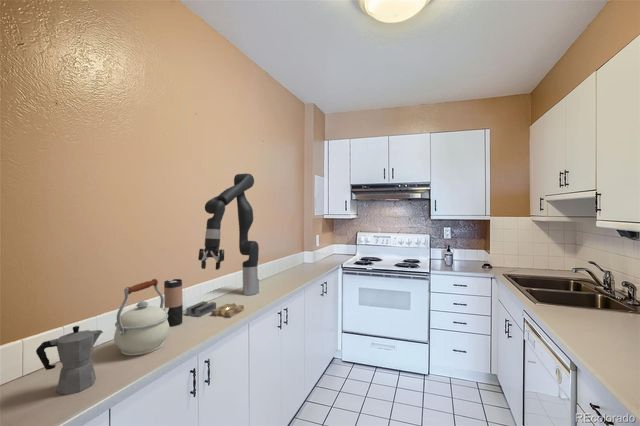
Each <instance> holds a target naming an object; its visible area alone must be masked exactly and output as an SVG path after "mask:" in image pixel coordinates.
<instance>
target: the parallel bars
mask: <svg viewBox="0 0 640 426" xmlns="http://www.w3.org/2000/svg"><path fill="white" fill-rule="evenodd" d="M231 304H232V303H225V304H222V305H221V306H219V307H216V309H215V310H213V311H211V317H212V316H213V317H218V316H220V315H219V310H221V309H223V308H225V307H227V306H229V305H231ZM244 309H245V307H244V304H243V305H241V304H240V305H237V307H235V308H233V309H231V310H229V311H227V312H225V316H224V317H225V318H227V319H228V318H229V319H230V318H233V317H234V316H235V315H238V314H239V313H241V312H243V311H244Z"/></svg>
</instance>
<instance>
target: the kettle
mask: <svg viewBox="0 0 640 426" xmlns="http://www.w3.org/2000/svg"><path fill="white" fill-rule="evenodd" d="M158 284H159V281H158V279H157V278H153V279H151V280H149V281H144V282H141V283H137V284H134V285H133V286H126V287H124V290H123V291H124V299H123V301H122V303H121V305H120V307H119V309H118V311H117V314H116V322H115V323H114V326H115V328H116V329H115V332H114V335H113V341H114V344H115V346H116V347H117V348H118V349H119V350H120V353H121V354H122V355H124V356H131V357H133V356H141V355H146V354H149V353H152V352H155V351H156V350H157V351H158V350H159V349H160V348H161V347H162V346H163V345H164V344H165V340H166V339H167V337H168V336H169V333H170V326H169V323H168V320H167V318H168V314H167V313H168V310H169V308H164V295H163V294H162V292H161V291H160V290H159V288H158ZM152 286H153V288H154V291H156V293H157V294H158V295H159V299H160V305H159V306H156V305H149V303H148V302H147V301H145V300H141V301H139V302H138V303H137V304H136V305H135V306H136V307H133V308H131V309H129V310H126V311H125V312H124V313H123V311H124V308H125V306H126V304H127V302H128V300H129V296H130V295H131V294H132V293H137V292H139V291H143V290H145V289H148V288H150V287H152Z"/></svg>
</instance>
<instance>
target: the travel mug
mask: <svg viewBox="0 0 640 426" xmlns="http://www.w3.org/2000/svg"><path fill="white" fill-rule="evenodd" d="M163 285H164V286H163V289H164V290H163V291H164V295H163V297H164V305H163V309H164V308H169V310H168V313H167V314H168V318H167V320H168V323H169V327H176V326H180V325H181V324H182V323H183V315H184V314H183V313H184V312H183V310H184V307H183V303H184V302H183V279H181V278H174V279H172V280H165V281H164V282H163Z"/></svg>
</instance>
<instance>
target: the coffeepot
mask: <svg viewBox="0 0 640 426" xmlns="http://www.w3.org/2000/svg"><path fill="white" fill-rule="evenodd" d="M79 330H80V325H75V326H73V327H72V331H73V332H70V333H67V334H64V335H60V337H58V338H54V339H50V340H46V341H42V343H41V344H40V345H39V346H38V347H37V348H36V350H35V353H36V355H37V357H38V358H39V360H40V362H41V364H42V366H43V367H44V369H45V370H46V371H50V370H53V369H55V368H56V366H57V364H50V359H49V358H48V356H47V352H46V350H45V349H48V348H55V347H56V349H57V353H58V358H59V363H61V364H62V366H61V369H60V372H59V377H58V384H57V389H56V393H58V394H60V395H72V394H77V393H80V392H82V391H85V390H87V389H89V388H91V387H92V386H93V385H94V384H95V382H96V380H97V377H96V373H95V368H94V364H93V360H92V359H91V358H92V357H91V356H92V355H93V351H94V346H95V344H96V342H97V340H98V338H99V337H100V336H101V335H102V333H104V332H103V330H101V329H100V330H99V329H95V330H90V329H86V330H85V329H84V330H80V331H79Z"/></svg>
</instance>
